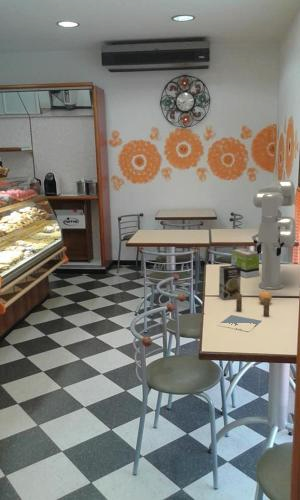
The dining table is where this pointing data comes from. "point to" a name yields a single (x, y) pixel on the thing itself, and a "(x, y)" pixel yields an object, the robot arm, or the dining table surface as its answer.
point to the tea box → (246, 262)
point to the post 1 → (238, 302)
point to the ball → (265, 296)
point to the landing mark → (240, 320)
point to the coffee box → (229, 281)
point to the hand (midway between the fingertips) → (268, 254)
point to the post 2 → (266, 307)
